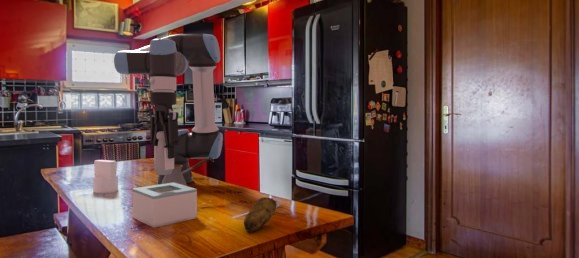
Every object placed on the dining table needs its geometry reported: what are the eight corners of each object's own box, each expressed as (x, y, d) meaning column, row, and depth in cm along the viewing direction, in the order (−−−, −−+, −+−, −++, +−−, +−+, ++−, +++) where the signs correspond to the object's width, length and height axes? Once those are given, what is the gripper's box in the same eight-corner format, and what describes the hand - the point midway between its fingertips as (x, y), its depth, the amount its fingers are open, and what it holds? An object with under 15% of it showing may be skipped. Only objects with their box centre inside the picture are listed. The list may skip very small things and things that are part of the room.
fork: (220, 220, 121) (220, 214, 121) (277, 205, 138) (277, 200, 138) (227, 222, 118) (227, 216, 118) (284, 207, 136) (284, 202, 136)
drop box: (174, 209, 131) (174, 182, 130) (197, 218, 121) (196, 189, 120) (132, 217, 121) (132, 188, 120) (153, 227, 111) (153, 196, 111)
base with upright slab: (88, 191, 155) (87, 161, 154) (106, 187, 164) (105, 158, 163) (105, 193, 152) (104, 163, 151) (123, 189, 160) (122, 160, 159)
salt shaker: (167, 175, 117) (167, 132, 116) (150, 175, 118) (149, 131, 117) (177, 172, 122) (177, 130, 121) (160, 171, 123) (160, 130, 123)
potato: (232, 229, 111) (232, 201, 110) (265, 219, 120) (266, 193, 119) (251, 236, 105) (251, 206, 104) (285, 225, 114) (285, 198, 114)
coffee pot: (163, 207, 133) (163, 163, 132) (152, 200, 142) (152, 159, 142) (220, 198, 146) (220, 158, 145) (207, 192, 155) (206, 155, 154)
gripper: (137, 91, 122) (138, 165, 124) (167, 90, 109) (167, 173, 111) (160, 92, 128) (161, 163, 129) (190, 91, 115) (191, 170, 116)
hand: (164, 167), depth 120 cm, fingers closed on salt shaker, 6 cm apart
